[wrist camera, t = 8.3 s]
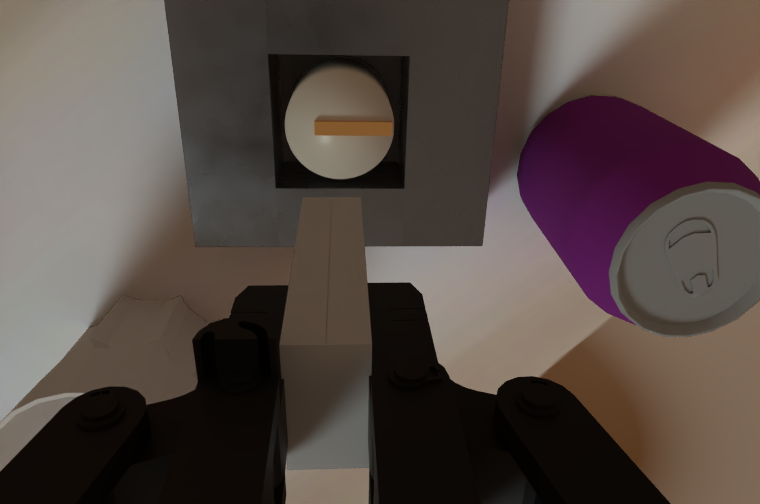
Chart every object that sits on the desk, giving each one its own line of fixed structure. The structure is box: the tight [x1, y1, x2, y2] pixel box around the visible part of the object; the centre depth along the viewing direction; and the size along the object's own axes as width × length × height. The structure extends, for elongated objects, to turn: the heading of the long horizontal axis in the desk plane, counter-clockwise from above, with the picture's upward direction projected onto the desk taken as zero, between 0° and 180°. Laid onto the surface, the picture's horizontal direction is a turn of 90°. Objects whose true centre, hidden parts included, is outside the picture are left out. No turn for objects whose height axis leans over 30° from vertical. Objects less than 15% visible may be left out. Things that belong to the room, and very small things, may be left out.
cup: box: [0, 295, 209, 471], centre depth 32 cm, size 10×10×10 cm
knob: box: [285, 56, 394, 179], centre depth 28 cm, size 5×5×4 cm
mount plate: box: [164, 0, 509, 247], centre depth 27 cm, size 14×22×4 cm, turn 179°
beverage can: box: [517, 96, 760, 337], centre depth 27 cm, size 8×8×12 cm
